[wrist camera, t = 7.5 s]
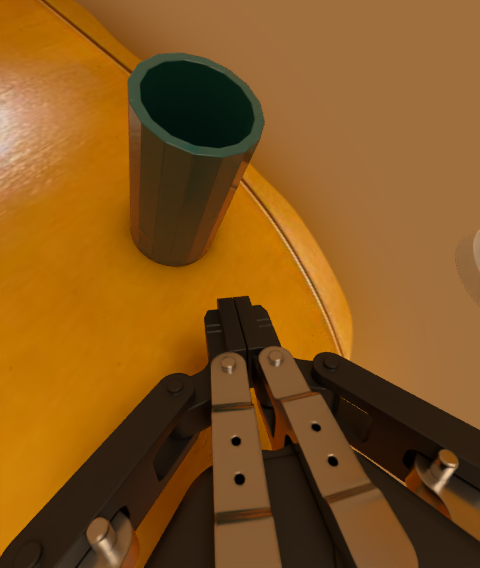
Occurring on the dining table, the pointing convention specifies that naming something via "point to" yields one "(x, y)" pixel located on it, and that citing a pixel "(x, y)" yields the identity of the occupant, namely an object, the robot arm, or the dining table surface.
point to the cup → (186, 152)
